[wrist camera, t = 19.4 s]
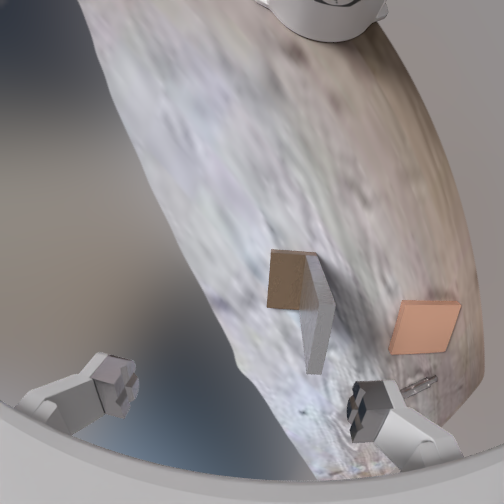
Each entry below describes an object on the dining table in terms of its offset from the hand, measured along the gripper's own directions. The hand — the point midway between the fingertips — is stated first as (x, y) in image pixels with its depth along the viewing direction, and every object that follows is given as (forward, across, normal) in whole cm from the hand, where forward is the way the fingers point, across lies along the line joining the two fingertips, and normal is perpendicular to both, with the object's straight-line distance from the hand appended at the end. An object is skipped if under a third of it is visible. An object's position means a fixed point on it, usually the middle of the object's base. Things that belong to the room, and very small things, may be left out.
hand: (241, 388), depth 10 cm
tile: (+31, -21, +15) cm, 40 cm away
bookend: (+31, -4, +8) cm, 32 cm away
